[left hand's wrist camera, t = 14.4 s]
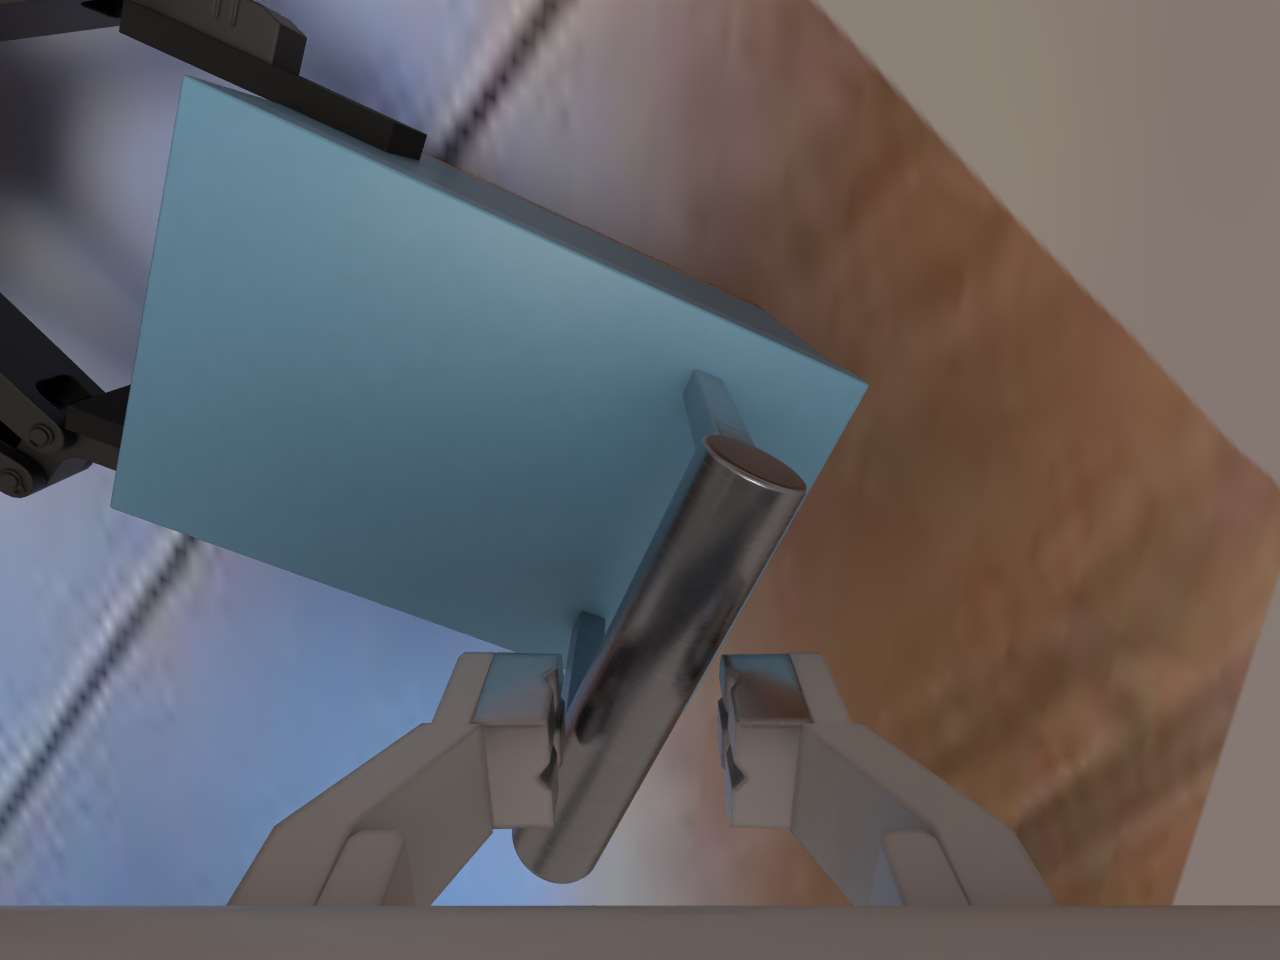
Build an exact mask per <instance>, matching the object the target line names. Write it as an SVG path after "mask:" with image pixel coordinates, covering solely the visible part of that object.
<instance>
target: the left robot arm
mask: <svg viewBox="0 0 1280 960" xmlns="http://www.w3.org/2000/svg"><path fill="white" fill-rule="evenodd" d="M563 679H564V673H563V659H562V656H561V654H545V653H498V652H497V653H494V652H464V653H463V654H462V655H461V656H460V657H459V658H458V660H457V663H456V665H455V668H454V670H453V672H452V675H451V677H450V680H449V682H448V684H447V687H446V689H445V692H444V694H443V696H442V699H441V701H440V704H439V706H438V708H437V711H436V713H435V716H434V718H433V720H432V723H422V724H420V725H419V726H417V727H416V728H414V729H413V730H411V731H410V732H409V733H407V734H406V735H404V736H403V737H401V738H400V739H399V740H397V741H396V742H394V743H393V744H391V745H390V746H389V747H387V748H386V749H384V750H383V751H381V752H380V753H379V754H377V755H376V756H374V757H373V758H371V759H370V760H369V761H367V762H366V763H364V764H363V765H361V766H360V767H359V768H357V769H356V770H354V771H353V772H351V773H350V774H349V775H347V776H346V777H344V778H343V779H341V780H340V781H338V782H337V783H336V784H334V785H333V786H331V787H330V788H328V789H327V790H326V791H324V792H323V793H321V794H320V795H318V796H317V797H316V798H314V799H313V800H311V801H310V802H308V803H307V804H306V805H304V806H303V807H301V808H300V809H298V810H297V811H296V812H294V813H293V814H291V815H290V816H288V817H287V818H286V819H284V820H283V821H281V822H280V823H278V824H277V825H276V826H274V828H273V829H272V831H271V833H270V834H269V836H268V838H267V839H266V841H265V843H264V844H263V846H262V848H261V849H260V851H259V853H258V854H257V856H256V858H255V859H254V861H253V862H252V864H251V866H250V867H249V869H248V871H247V872H246V874H245V876H244V877H243V879H242V881H241V882H240V884H239V886H238V887H237V889H236V890H235V892H234V894H233V895H232V897H231V899H230V900H229V902H228V904H227V905H226V906H0V960H1280V906H1059V905H1058V903H1057V902H1056V900H1055V898H1054V897H1053V895H1052V893H1051V892H1050V890H1049V888H1048V887H1047V885H1046V884H1045V882H1044V880H1043V879H1042V877H1041V875H1040V874H1039V872H1038V870H1037V869H1036V867H1035V865H1034V864H1033V862H1032V861H1031V859H1030V857H1029V856H1028V854H1027V852H1026V851H1025V849H1024V847H1023V846H1022V844H1021V842H1020V841H1019V839H1018V838H1017V836H1016V834H1015V833H1014V831H1013V829H1012V828H1011V827H1010V826H1009V825H1007V824H1006V823H1004V822H1003V821H1001V820H1000V819H999V818H997V817H996V816H994V815H993V814H991V813H990V812H989V811H987V810H986V809H984V808H983V807H981V806H980V805H978V804H977V803H976V802H974V801H973V800H971V799H970V798H968V797H967V796H966V795H964V794H963V793H961V792H960V791H958V790H957V789H956V788H954V787H953V786H951V785H950V784H948V783H947V782H946V781H944V780H943V779H941V778H940V777H938V776H937V775H935V774H934V773H933V772H931V771H930V770H928V769H927V768H925V767H924V766H923V765H921V764H920V763H918V762H917V761H915V760H914V759H913V758H911V757H910V756H908V755H907V754H905V753H904V752H903V751H901V750H900V749H898V748H897V747H895V746H894V745H893V744H891V743H890V742H888V741H887V740H885V739H884V738H882V737H881V736H880V735H878V734H877V733H875V732H874V731H872V730H871V729H870V728H868V727H867V726H865V725H864V724H862V723H852V721H851V719H850V716H849V714H848V712H847V709H846V707H845V705H844V702H843V700H842V698H841V695H840V693H839V691H838V688H837V686H836V684H835V681H834V679H833V677H832V674H831V672H830V670H829V667H828V665H827V663H826V660H825V658H824V656H823V655H822V654H821V653H820V652H801V653H787V654H731V655H721V661H720V674H719V679H720V685H721V691H722V698H721V699H720V700H719V701H718V745H719V755H720V762H721V766H722V767H723V768H724V769H725V789H724V790H725V796H726V802H727V809H728V815H729V821H730V827H735V828H771V829H791V833H792V834H793V835H794V836H795V837H796V839H797V840H798V841H799V842H800V843H801V844H802V846H803V847H804V848H805V849H806V850H807V851H808V853H809V854H810V855H811V856H812V857H813V858H814V860H815V861H816V862H817V863H818V864H819V865H820V867H821V868H822V869H823V870H824V871H825V872H826V874H827V875H828V876H829V877H830V878H831V879H832V881H833V882H834V883H835V884H836V885H837V886H838V888H839V889H840V890H841V891H842V892H843V893H844V895H845V896H846V897H847V898H848V899H849V900H850V902H851V903H852V904H853V905H854V906H430V905H431V904H432V903H433V902H434V901H435V899H436V898H437V897H438V896H439V895H440V894H441V892H442V891H443V890H444V889H445V888H446V887H447V885H448V884H449V883H450V882H451V881H452V880H453V878H454V877H455V876H456V875H457V874H458V873H459V871H460V870H461V869H462V868H463V867H464V866H465V864H466V863H467V862H468V861H469V860H470V859H471V857H472V856H473V855H474V854H475V853H476V852H477V850H478V849H479V848H480V847H481V846H482V845H483V843H484V842H485V841H486V840H487V839H488V838H489V836H490V835H491V834H492V833H493V831H492V829H512V828H546V827H553V825H554V818H555V812H556V805H557V798H558V792H559V783H558V769H559V768H560V767H561V766H562V763H563V756H564V745H565V701H564V700H563V699H562V698H561V692H562V686H563Z"/></svg>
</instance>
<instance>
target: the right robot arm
mask: <svg viewBox="0 0 1280 960" xmlns="http://www.w3.org/2000/svg"><path fill="white" fill-rule="evenodd" d="M113 26H120V29H119V32H120V33H122V34H125V35H127V36H129V37H131V38H133V39H136V40H138V41H140V42H142V43H144V44H147V45H149V46H151V47H153V48H155V49H158V50H160V51H162V52H164V53H166V54H169V55H171V56H173V57H175V58H177V59H180V60H182V61H184V62H186V63H188V64H191V65H193V66H195V67H197V68H199V69H202V70H204V71H206V72H208V73H210V74H213V75H215V76H217V77H219V78H221V79H224V80H226V81H228V82H230V83H232V84H235V85H237V86H239V87H241V88H243V89H246V90H248V91H250V92H252V93H254V94H257V95H259V96H261V97H263V98H265V99H268V100H270V101H272V102H275V103H278V104H281V105H283V106H286V107H288V108H290V109H292V110H294V111H297V112H299V113H301V114H303V115H305V116H308V117H310V118H312V119H314V120H316V121H319V122H321V123H323V124H325V125H327V126H330V127H332V128H334V129H336V130H338V131H341V132H343V133H345V134H347V135H349V136H352V137H354V138H356V139H358V140H360V141H362V142H365V143H367V144H369V145H371V146H373V147H376V148H378V149H380V150H382V151H384V152H387V153H390V154H394V155H398V156H402V157H406V158H410V159H414V160H418V161H420V157H421V154H422V151H423V147H424V144H425V140H426V137H427V135H426V134H424V133H422V132H420V131H418V130H415V129H413V128H411V127H409V126H407V125H405V124H402V123H400V122H398V121H396V120H394V119H392V118H390V117H387V116H385V115H383V114H381V113H379V112H377V111H374V110H372V109H370V108H368V107H366V106H364V105H361V104H359V103H357V102H355V101H353V100H351V99H348V98H346V97H344V96H342V95H340V94H338V93H335V92H333V91H331V90H329V89H327V88H325V87H322V86H320V85H318V84H316V83H314V82H312V81H310V80H307V79H305V78H303V77H301V76H299V72H300V68H301V63H302V59H303V54H304V50H305V45H306V41H307V37H306V36H305V35H304V34H303V33H302V32H301V31H300V30H299V29H298V28H297V27H296V26H295V25H294V24H293V23H292V22H291V21H290V20H288V19H286V18H285V17H283V16H281V15H279V14H277V13H276V12H274V11H272V10H270V9H268V8H267V7H265V6H263V5H261V4H259V3H257V2H255V1H253V0H0V41H7V40H15V39H22V38H30V37H38V36H45V35H53V34H60V33H68V32H75V31H83V30H90V29H98V28H105V27H113ZM130 387H131V385H128V386H125V387H122V388H119V389H116V390H113V391H110V392H107V393H105V392H104V391H103V390H102V389H101V388H100V387H99V386H98V385H97V384H96V383H95V382H94V381H93V380H92V379H90V378H89V377H88V376H87V375H86V374H85V373H84V372H83V371H82V370H81V369H80V368H79V367H78V366H77V365H76V364H75V363H74V362H73V361H72V360H71V359H70V358H68V357H67V356H66V355H65V354H64V353H63V352H62V351H61V350H60V349H59V348H58V347H57V346H56V345H55V344H54V343H53V342H52V341H51V340H50V339H49V338H47V337H46V336H45V335H44V334H43V333H42V332H41V331H40V330H39V329H38V328H37V327H36V326H35V325H34V324H33V323H32V322H31V321H30V320H29V319H28V318H27V317H25V316H24V315H23V314H22V313H21V312H20V311H19V310H18V309H17V308H16V307H15V306H14V305H13V304H12V303H11V302H10V301H9V300H8V299H7V298H6V297H4V296H3V295H2V294H1V293H0V491H1V492H3V493H4V494H6V495H9V496H11V497H16V498H22V497H26V496H29V495H31V494H33V493H35V492H37V491H39V490H42V489H44V488H46V487H48V486H50V485H53V484H55V483H57V482H59V481H61V480H64V479H66V478H68V477H70V476H72V475H75V474H77V473H79V472H81V471H83V470H86V469H88V468H89V467H90V466H91V465H92V463H93V462H94V463H96V464H99V465H102V466H105V467H107V468H110V469H113V470H116V469H117V463H118V458H119V452H120V446H121V440H122V434H123V428H124V422H125V416H126V410H127V404H128V398H129V392H130ZM55 407H56V408H55Z"/></svg>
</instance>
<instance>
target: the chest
mask: <svg viewBox="0 0 1280 960" xmlns="http://www.w3.org/2000/svg"><path fill="white" fill-rule="evenodd" d="M224 88H226V87H224ZM226 89H229V90H231V91H233V92H235V93H237V94H240V95H242V96H244V97H246V98H249V99H251V100H253V101H255V102H257V103H260V104H262V105H264V106H266V107H268V108H271V109H273V110H275V111H277V112H279V113H282V114H284V115H286V116H288V117H290V118H293V119H295V120H297V121H299V122H301V123H304V124H306V125H308V126H310V127H312V128H315V129H317V130H319V131H321V132H323V133H326V134H328V135H330V136H332V137H334V138H337V139H339V140H341V141H343V142H345V143H348V144H350V145H352V146H354V147H357V148H359V149H361V150H363V151H365V152H368V153H370V154H372V155H374V156H376V157H379V158H381V159H383V160H385V161H387V162H390V163H392V164H394V165H396V166H398V167H401V168H403V169H405V170H407V171H409V172H412V173H414V174H416V175H418V176H420V177H423V178H425V179H427V180H429V181H431V182H434V183H436V184H438V185H440V186H442V187H445V188H447V189H449V190H451V191H453V192H456V193H458V194H460V195H462V196H465V197H467V198H469V199H471V200H473V201H476V202H478V203H480V204H482V205H484V206H487V207H489V208H491V209H493V210H495V211H498V212H500V213H502V214H504V215H506V216H509V217H511V218H513V219H515V220H517V221H520V222H522V223H524V224H526V225H528V226H531V227H533V228H535V229H537V230H539V231H542V232H544V233H546V234H548V235H550V236H553V237H555V238H557V239H559V240H561V241H564V242H566V243H568V244H570V245H573V246H575V247H577V248H579V249H581V250H584V251H586V252H588V253H590V254H592V255H595V256H597V257H599V258H601V259H603V260H606V261H608V262H610V263H612V264H614V265H617V266H619V267H621V268H623V269H625V270H628V271H630V272H632V273H634V274H636V275H639V276H641V277H643V278H645V279H647V280H650V281H652V282H654V283H656V284H658V285H661V286H663V287H665V288H667V289H669V290H672V291H674V292H676V293H678V294H681V295H683V296H685V297H687V298H689V299H692V300H694V301H696V302H698V303H700V304H703V305H705V306H707V307H709V308H711V309H714V310H716V311H718V312H720V313H722V314H725V315H727V316H729V317H731V318H733V319H736V320H738V321H740V322H742V323H744V324H747V325H749V326H751V327H753V328H755V329H758V330H760V331H762V332H764V333H766V334H769V335H771V336H773V337H775V338H777V339H780V340H782V341H784V342H786V343H789V344H791V345H793V346H795V347H797V348H800V349H802V350H804V351H806V352H808V353H811V354H813V355H815V356H817V357H819V358H822V359H824V360H826V361H828V362H830V363H832V362H831V361H829V360H828V359H827V358H825V357H824V356H823V355H821V354H820V353H819V352H817V351H816V350H815V349H814V348H812V347H811V346H810V345H808V344H807V343H806V342H804V341H803V340H802V339H800V338H799V337H798V336H797V335H795V334H794V333H793V332H791V331H790V330H789V329H787V328H786V327H785V326H783V325H782V324H781V323H780V322H778V321H777V320H776V319H774V318H773V317H772V316H770V315H769V314H768V313H766V312H765V311H764V309H762V308H761V307H759V306H757V305H755V304H753V303H750V302H748V301H746V300H744V299H742V298H739V297H737V296H735V295H733V294H731V293H729V292H726V291H724V290H722V289H720V288H718V287H716V286H713V285H711V284H709V283H707V282H705V281H702V280H700V279H698V278H696V277H694V276H692V275H689V274H687V273H685V272H683V271H681V270H679V269H676V268H674V267H672V266H670V265H668V264H665V263H663V262H661V261H659V260H657V259H655V258H652V257H650V256H648V255H646V254H644V253H642V252H639V251H637V250H635V249H633V248H631V247H628V246H626V245H624V244H622V243H620V242H618V241H615V240H613V239H611V238H609V237H607V236H605V235H602V234H600V233H598V232H596V231H594V230H591V229H589V228H587V227H585V226H583V225H581V224H578V223H576V222H574V221H572V220H570V219H568V218H565V217H563V216H561V215H559V214H557V213H554V212H552V211H550V210H548V209H546V208H544V207H541V206H539V205H537V204H535V203H533V202H531V201H528V200H526V199H524V198H522V197H520V196H517V195H515V194H513V193H511V192H509V191H507V190H504V189H502V188H500V187H498V186H496V185H494V184H491V183H489V182H487V181H485V180H483V179H480V178H478V177H476V176H474V175H472V174H470V173H467V172H465V171H463V170H461V169H459V168H457V167H454V166H452V165H450V164H448V163H446V162H443V161H441V160H439V159H437V158H435V157H433V156H430V155H428V154H426V153H424V152H422V154H421V157H420V161H418V160H414V159H410V158H406V157H402V156H398V155H394V154H390V153H387V152H384V151H382V150H380V149H378V148H376V147H373V146H371V145H369V144H367V143H365V142H362V141H360V140H358V139H356V138H354V137H352V136H349V135H347V134H345V133H343V132H341V131H338V130H336V129H334V128H332V127H330V126H327V125H325V124H323V123H321V122H319V121H316V120H314V119H312V118H310V117H308V116H305V115H303V114H301V113H299V112H297V111H294V110H292V109H290V108H288V107H286V106H283V105H281V104H278V103H275V102H272V101H268V100H265V99H262V98H259V97H256V96H252V95H249V94H246V93H243V92H239V91H236V90H233V89H230V88H226Z"/></svg>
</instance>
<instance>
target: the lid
mask: <svg viewBox="0 0 1280 960" xmlns="http://www.w3.org/2000/svg"><path fill="white" fill-rule="evenodd" d="M867 389H868V384H867V383H866V382H865V381H863V380H862V379H861V378H859V377H858V376H857V375H855V374H854V373H852V372H850V371H848V370H846V369H844V368H841V367H839V366H837V365H835V364H833V363H830V362H828V361H826V360H824V359H822V358H819V357H817V356H815V355H813V354H811V353H808V352H806V351H804V350H802V349H800V348H797V347H795V346H793V345H791V344H789V343H786V342H784V341H782V340H780V339H777V338H775V337H773V336H771V335H769V334H766V333H764V332H762V331H760V330H758V329H755V328H753V327H751V326H749V325H747V324H744V323H742V322H740V321H738V320H736V319H733V318H731V317H729V316H727V315H725V314H722V313H720V312H718V311H716V310H714V309H711V308H709V307H707V306H705V305H703V304H700V303H698V302H696V301H694V300H692V299H689V298H687V297H685V296H683V295H681V294H678V293H676V292H674V291H672V290H669V289H667V288H665V287H663V286H661V285H658V284H656V283H654V282H652V281H650V280H647V279H645V278H643V277H641V276H639V275H636V274H634V273H632V272H630V271H628V270H625V269H623V268H621V267H619V266H617V265H614V264H612V263H610V262H608V261H606V260H603V259H601V258H599V257H597V256H595V255H592V254H590V253H588V252H586V251H584V250H581V249H579V248H577V247H575V246H573V245H570V244H568V243H566V242H564V241H561V240H559V239H557V238H555V237H553V236H550V235H548V234H546V233H544V232H542V231H539V230H537V229H535V228H533V227H531V226H528V225H526V224H524V223H522V222H520V221H517V220H515V219H513V218H511V217H509V216H506V215H504V214H502V213H500V212H498V211H495V210H493V209H491V208H489V207H487V206H484V205H482V204H480V203H478V202H476V201H473V200H471V199H469V198H467V197H465V196H462V195H460V194H458V193H456V192H453V191H451V190H449V189H447V188H445V187H442V186H440V185H438V184H436V183H434V182H431V181H429V180H427V179H425V178H423V177H420V176H418V175H416V174H414V173H412V172H409V171H407V170H405V169H403V168H401V167H398V166H396V165H394V164H392V163H390V162H387V161H385V160H383V159H381V158H379V157H376V156H374V155H372V154H370V153H368V152H365V151H363V150H361V149H359V148H357V147H354V146H352V145H350V144H348V143H345V142H343V141H341V140H339V139H337V138H334V137H332V136H330V135H328V134H326V133H323V132H321V131H319V130H317V129H315V128H312V127H310V126H308V125H306V124H304V123H301V122H299V121H297V120H295V119H293V118H290V117H288V116H286V115H284V114H282V113H279V112H277V111H275V110H273V109H271V108H268V107H266V106H264V105H262V104H260V103H257V102H255V101H253V100H251V99H249V98H246V97H244V96H242V95H240V94H237V93H235V92H233V91H231V90H229V89H226V88H224V87H222V86H220V85H216V84H213V83H210V82H207V81H204V80H200V79H197V78H194V77H191V76H184V77H183V79H182V85H181V91H180V96H179V102H178V108H177V114H176V120H175V126H174V132H173V138H172V144H171V150H170V156H169V162H168V168H167V173H166V179H165V185H164V191H163V197H162V203H161V209H160V215H159V221H158V227H157V233H156V239H155V244H154V250H153V256H152V262H151V268H150V274H149V280H148V286H147V292H146V298H145V304H144V310H143V315H142V321H141V327H140V333H139V339H138V345H137V351H136V357H135V363H134V369H133V375H132V381H131V387H130V392H129V398H128V404H127V410H126V416H125V422H124V428H123V434H122V440H121V446H120V452H119V458H118V463H117V469H116V475H115V481H114V487H113V493H112V499H111V505H110V506H111V508H113V509H116V510H119V511H121V512H124V513H127V514H130V515H133V516H135V517H138V518H141V519H144V520H147V521H149V522H152V523H155V524H158V525H161V526H164V527H166V528H169V529H172V530H175V531H178V532H180V533H183V534H186V535H189V536H192V537H194V538H197V539H200V540H203V541H206V542H209V543H211V544H214V545H217V546H220V547H223V548H225V549H228V550H231V551H234V552H237V553H239V554H242V555H245V556H248V557H251V558H253V559H256V560H259V561H262V562H265V563H268V564H270V565H273V566H276V567H279V568H282V569H284V570H287V571H290V572H293V573H296V574H298V575H301V576H304V577H307V578H310V579H313V580H315V581H318V582H321V583H324V584H327V585H329V586H332V587H335V588H338V589H341V590H343V591H346V592H349V593H352V594H355V595H357V596H360V597H363V598H366V599H369V600H372V601H374V602H377V603H380V604H383V605H386V606H388V607H391V608H394V609H397V610H400V611H402V612H405V613H408V614H411V615H414V616H417V617H419V618H422V619H425V620H428V621H431V622H433V623H436V624H439V625H442V626H445V627H447V628H450V629H453V630H456V631H459V632H462V633H464V634H467V635H470V636H473V637H476V638H478V639H481V640H484V641H487V642H490V643H492V644H495V645H498V646H501V647H504V648H506V649H509V650H512V651H515V652H518V653H545V654H561V656H562V659H563V669H566V670H565V676H564V682H563V688H562V695H561V698H562V699H563V700H564V701H565V745H564V756H563V763H562V766H561V767H560V768H559V769H558V783H559V792H558V798H557V805H556V812H555V818H554V825H553V827H546V828H512V839H513V844H514V848H515V851H516V853H517V855H518V857H519V858H520V860H521V861H522V863H523V864H524V865H525V866H526V867H527V868H528V869H529V870H530V871H531V872H532V873H533V874H535V875H536V876H538V877H540V878H542V879H544V880H546V881H549V882H553V883H560V884H567V883H572V882H575V881H578V880H580V879H582V878H584V877H585V876H587V875H588V874H589V873H590V872H591V871H592V870H593V868H594V867H595V865H596V863H597V862H598V860H599V858H600V856H601V854H602V853H603V851H604V849H605V847H606V846H607V844H608V842H609V840H610V839H611V837H612V835H613V833H614V832H615V830H616V828H617V826H618V824H619V823H620V821H621V819H622V817H623V816H624V814H625V812H626V810H627V809H628V807H629V805H630V803H631V802H632V800H633V798H634V796H635V794H636V793H637V791H638V789H639V787H640V786H641V784H642V782H643V780H644V779H645V777H646V775H647V773H648V772H649V770H650V768H651V766H652V764H653V763H654V761H655V759H656V757H657V756H658V754H659V752H660V750H661V749H662V747H663V745H664V743H665V741H666V740H667V738H668V736H669V734H670V733H671V731H672V729H673V727H674V726H675V724H676V722H677V720H678V719H679V717H680V715H681V713H682V711H685V709H686V707H687V706H688V704H689V702H690V700H691V699H692V697H693V695H694V693H695V692H696V690H697V688H698V686H699V685H700V683H701V681H702V679H703V678H704V676H705V674H706V672H707V670H708V669H709V667H710V665H711V663H712V662H713V660H714V658H715V656H716V655H717V653H718V651H719V649H720V648H721V646H722V644H723V642H724V641H725V639H726V637H727V635H728V633H729V632H730V630H731V628H732V626H733V625H734V623H735V621H736V619H737V618H738V616H739V614H740V612H741V611H742V609H743V607H744V605H745V604H746V602H747V600H748V598H749V596H750V595H751V593H752V591H753V589H754V588H755V586H756V584H757V582H758V581H759V579H760V577H761V575H762V574H763V572H764V570H765V568H766V567H767V565H768V563H769V561H770V560H771V558H772V556H773V554H774V552H775V551H776V549H777V547H778V545H779V544H780V542H781V540H782V538H783V537H784V535H785V533H786V531H787V530H788V528H789V526H790V524H791V523H792V521H793V519H794V517H795V515H796V514H797V512H798V510H799V508H800V507H801V505H802V503H803V501H804V500H805V498H806V496H807V494H808V493H809V491H810V489H811V487H812V486H813V484H814V482H815V480H816V478H817V477H818V475H819V473H820V471H821V470H822V468H823V466H824V464H825V463H826V461H827V459H828V457H829V456H830V454H831V452H832V450H833V449H834V447H835V445H836V443H837V441H838V440H839V438H840V436H841V434H842V433H843V431H844V429H845V427H846V426H847V424H848V422H849V420H850V419H851V417H852V415H853V413H854V412H855V410H856V408H857V406H858V404H859V403H860V401H861V399H862V397H863V396H864V394H865V392H866V390H867Z"/></svg>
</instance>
